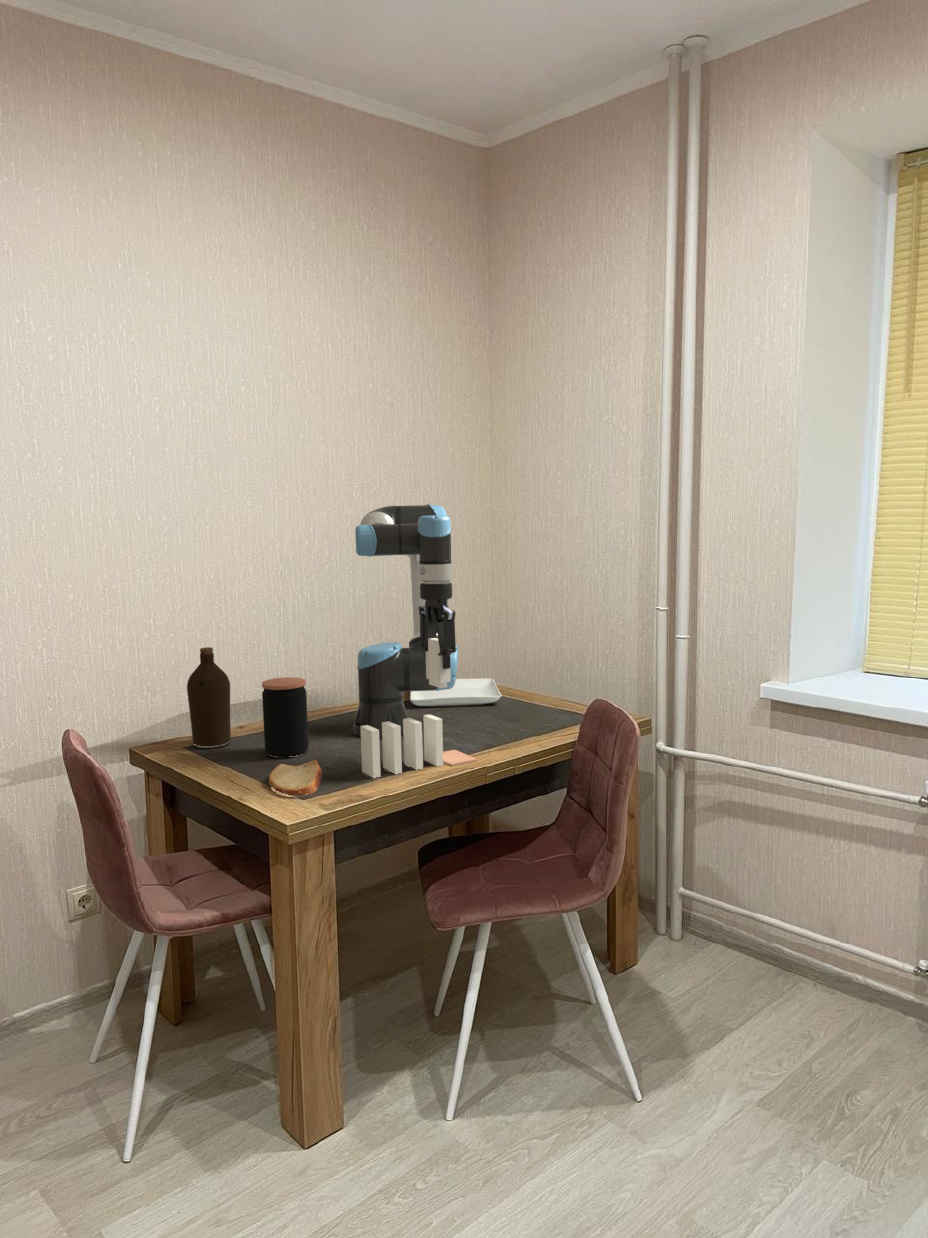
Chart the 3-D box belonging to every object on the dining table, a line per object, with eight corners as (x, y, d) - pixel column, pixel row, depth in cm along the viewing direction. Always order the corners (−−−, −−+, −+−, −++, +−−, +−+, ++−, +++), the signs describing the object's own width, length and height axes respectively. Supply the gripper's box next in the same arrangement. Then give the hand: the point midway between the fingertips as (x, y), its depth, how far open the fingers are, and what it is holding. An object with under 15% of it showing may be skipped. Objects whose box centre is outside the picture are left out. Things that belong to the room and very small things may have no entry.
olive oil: (237, 746, 240) (232, 649, 236) (195, 752, 235) (189, 653, 231) (227, 736, 249) (222, 643, 245) (186, 742, 244) (180, 647, 241)
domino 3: (416, 770, 216) (414, 723, 214) (404, 764, 220) (403, 719, 219) (423, 769, 217) (421, 722, 215) (411, 763, 221) (409, 717, 220)
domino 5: (436, 766, 219) (435, 720, 217) (424, 760, 223) (423, 715, 222) (443, 765, 220) (442, 719, 218) (431, 759, 224) (429, 714, 223)
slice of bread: (302, 802, 196) (301, 785, 196) (241, 789, 206) (240, 772, 206) (357, 779, 211) (357, 763, 211) (298, 767, 221) (297, 752, 220)
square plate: (493, 688, 304) (493, 676, 303) (502, 708, 277) (502, 695, 276) (409, 691, 302) (408, 679, 301) (410, 711, 275) (409, 698, 274)
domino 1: (373, 779, 210) (371, 731, 208) (362, 773, 215) (360, 726, 213) (380, 777, 211) (379, 730, 209) (369, 771, 216) (367, 725, 214)
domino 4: (440, 688, 219) (439, 641, 218) (429, 684, 224) (427, 638, 222) (447, 687, 220) (446, 640, 218) (435, 683, 225) (434, 637, 223)
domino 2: (395, 774, 213) (393, 727, 211) (383, 768, 218) (381, 722, 216) (401, 773, 214) (400, 726, 212) (390, 767, 218) (388, 721, 217)
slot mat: (452, 766, 218) (452, 764, 218) (430, 756, 227) (430, 754, 227) (477, 761, 222) (477, 759, 222) (454, 751, 230) (454, 749, 230)
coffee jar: (317, 750, 234) (314, 679, 232) (289, 761, 225) (285, 687, 223) (285, 745, 240) (281, 675, 237) (255, 755, 230) (252, 683, 228)
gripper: (403, 580, 225) (406, 676, 228) (441, 585, 209) (443, 688, 212) (431, 578, 229) (433, 672, 231) (470, 583, 213) (472, 684, 216)
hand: (438, 680), depth 222 cm, fingers closed on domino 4, 6 cm apart
